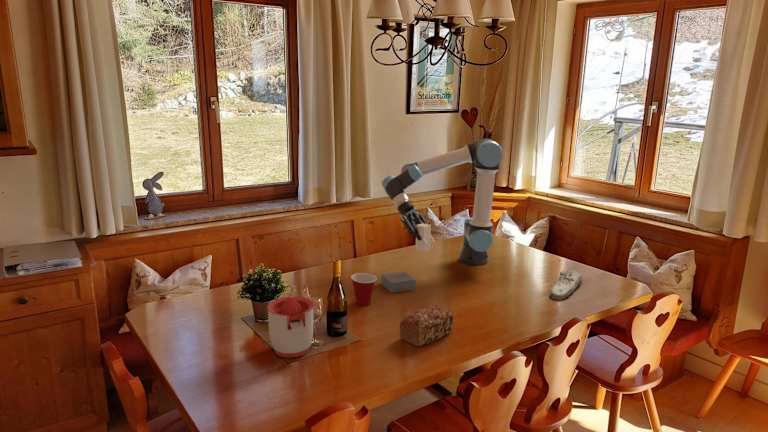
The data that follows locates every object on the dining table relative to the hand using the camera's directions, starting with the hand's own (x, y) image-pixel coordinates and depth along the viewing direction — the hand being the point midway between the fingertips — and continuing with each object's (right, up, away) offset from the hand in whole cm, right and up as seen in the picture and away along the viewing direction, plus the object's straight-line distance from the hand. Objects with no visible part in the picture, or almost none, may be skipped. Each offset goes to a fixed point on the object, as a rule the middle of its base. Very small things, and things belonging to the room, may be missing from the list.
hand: (429, 243), depth 249 cm
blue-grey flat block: (-15, -19, -5) cm, 25 cm away
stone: (+63, -20, -3) cm, 66 cm away
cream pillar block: (-3, -3, +3) cm, 5 cm away
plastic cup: (-30, -24, -24) cm, 45 cm away
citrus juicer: (-53, -34, -65) cm, 91 cm away
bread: (-6, -31, -52) cm, 61 cm away
